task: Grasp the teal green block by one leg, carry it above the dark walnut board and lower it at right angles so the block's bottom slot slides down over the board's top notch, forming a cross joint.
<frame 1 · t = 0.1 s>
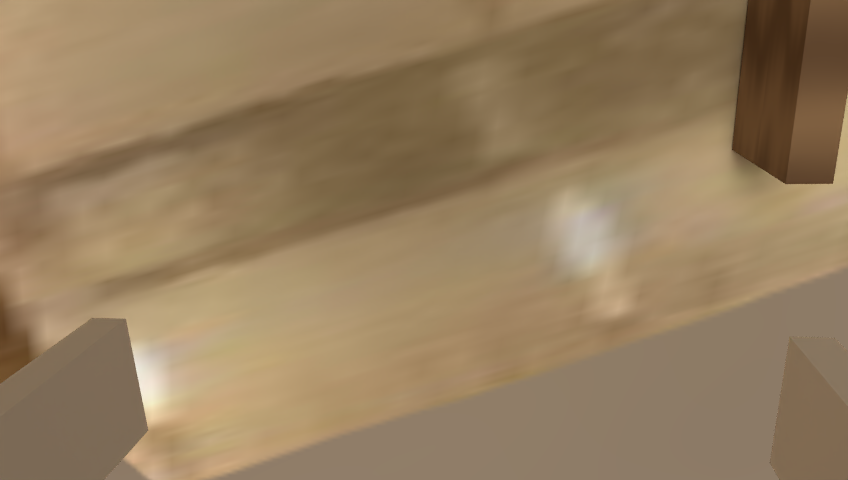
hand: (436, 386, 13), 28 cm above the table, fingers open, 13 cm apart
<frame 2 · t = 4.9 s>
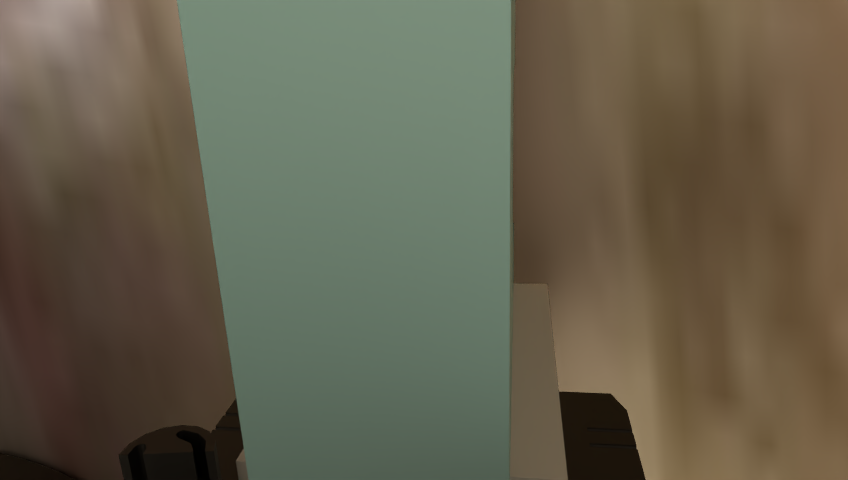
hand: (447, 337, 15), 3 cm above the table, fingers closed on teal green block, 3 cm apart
teal green block: (444, 144, 14), point 3 cm above the table, touching gripper
when the fingers open (0 cm above the table, at t = 9.7 s): teal green block stays where it is, on the table.
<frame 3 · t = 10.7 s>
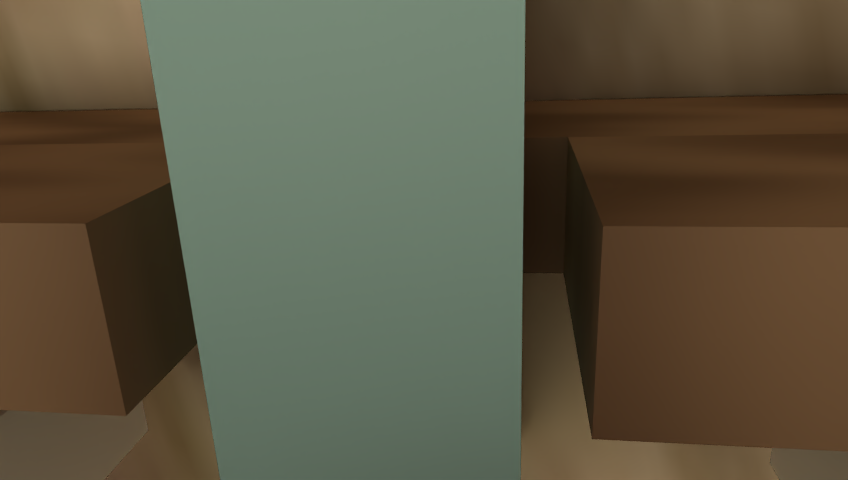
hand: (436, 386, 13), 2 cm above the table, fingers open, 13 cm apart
teal green block: (446, 152, 13), on the table
walnut board: (489, 152, 13), on the table
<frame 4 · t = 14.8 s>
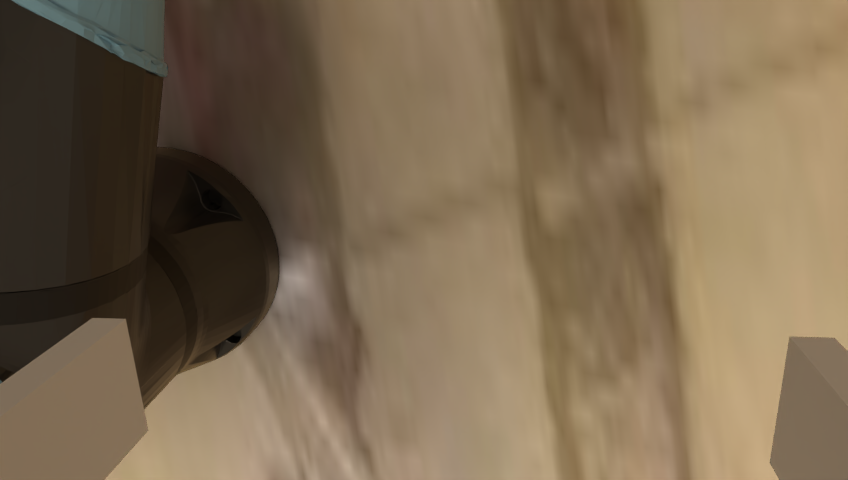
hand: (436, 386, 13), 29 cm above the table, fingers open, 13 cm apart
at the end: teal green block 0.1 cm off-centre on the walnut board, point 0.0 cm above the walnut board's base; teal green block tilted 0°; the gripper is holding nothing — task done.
